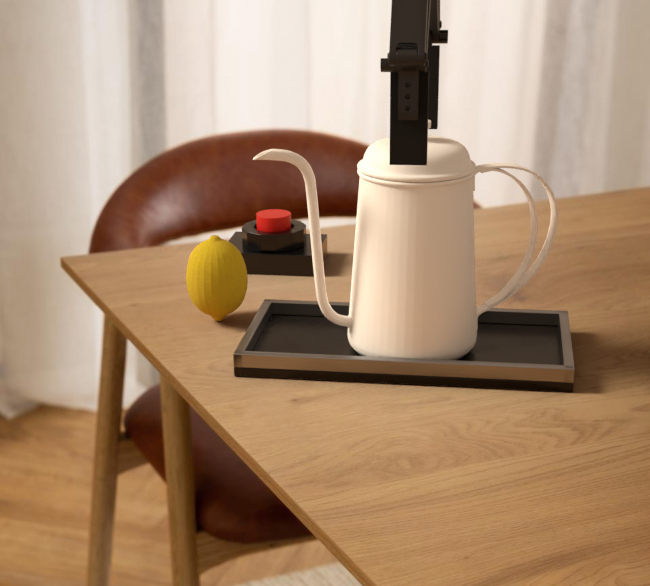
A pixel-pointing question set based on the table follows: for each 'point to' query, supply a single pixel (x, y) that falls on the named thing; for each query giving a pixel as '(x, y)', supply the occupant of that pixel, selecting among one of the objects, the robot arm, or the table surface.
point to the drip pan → (468, 371)
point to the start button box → (277, 250)
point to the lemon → (216, 277)
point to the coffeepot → (415, 251)
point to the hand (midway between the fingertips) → (415, 145)
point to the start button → (273, 220)
